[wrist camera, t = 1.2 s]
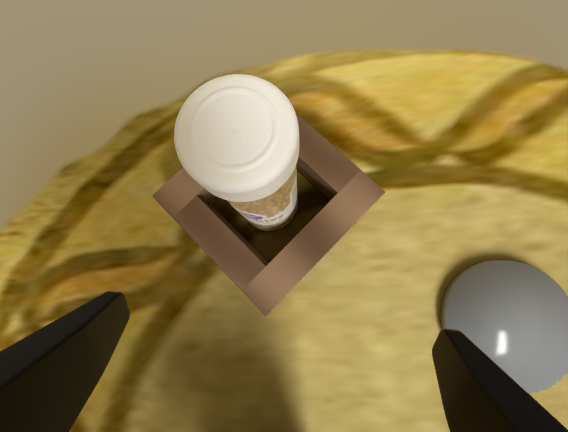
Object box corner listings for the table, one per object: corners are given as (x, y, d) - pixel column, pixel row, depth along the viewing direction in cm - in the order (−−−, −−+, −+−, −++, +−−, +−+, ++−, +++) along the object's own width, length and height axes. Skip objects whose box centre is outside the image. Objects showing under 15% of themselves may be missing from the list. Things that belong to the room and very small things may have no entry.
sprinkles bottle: (241, 230, 23) (162, 189, 10) (245, 176, 24) (175, 67, 10) (298, 232, 23) (297, 193, 9) (300, 177, 23) (301, 67, 10)
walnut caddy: (271, 307, 22) (265, 316, 18) (173, 205, 23) (152, 195, 20) (372, 202, 23) (385, 192, 19) (271, 111, 24) (266, 86, 21)
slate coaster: (515, 417, 20) (524, 423, 19) (415, 321, 21) (419, 323, 20) (595, 322, 20) (607, 325, 20) (493, 235, 22) (500, 234, 21)
